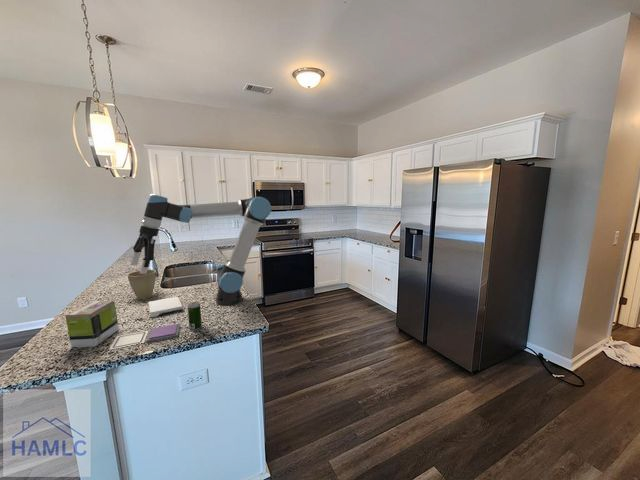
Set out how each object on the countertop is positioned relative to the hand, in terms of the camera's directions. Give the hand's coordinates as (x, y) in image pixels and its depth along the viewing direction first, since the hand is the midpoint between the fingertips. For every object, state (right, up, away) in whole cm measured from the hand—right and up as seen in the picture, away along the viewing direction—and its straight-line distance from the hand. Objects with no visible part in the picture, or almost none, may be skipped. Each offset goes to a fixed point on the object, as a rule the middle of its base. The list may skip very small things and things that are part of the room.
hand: (138, 269), depth 129 cm
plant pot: (-23, -22, +40) cm, 51 cm away
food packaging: (0, -25, +22) cm, 34 cm away
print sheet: (+4, -29, -12) cm, 32 cm away
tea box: (-12, -30, -10) cm, 33 cm away
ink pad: (+16, -29, -7) cm, 34 cm away
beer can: (+28, -28, -2) cm, 40 cm away
